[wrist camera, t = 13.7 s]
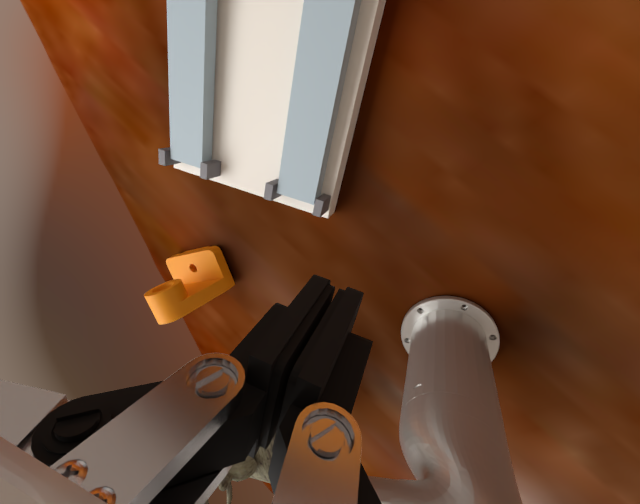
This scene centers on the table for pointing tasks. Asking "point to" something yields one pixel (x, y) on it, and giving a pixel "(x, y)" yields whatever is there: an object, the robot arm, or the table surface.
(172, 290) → the bracket
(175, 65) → the lever
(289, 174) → the lever
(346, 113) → the board
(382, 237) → the table surface
